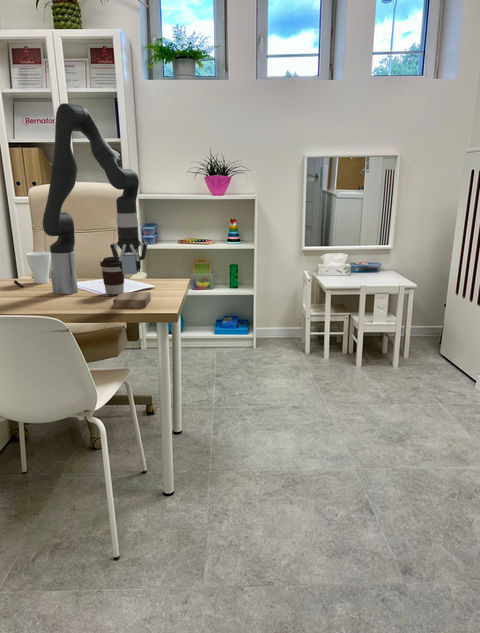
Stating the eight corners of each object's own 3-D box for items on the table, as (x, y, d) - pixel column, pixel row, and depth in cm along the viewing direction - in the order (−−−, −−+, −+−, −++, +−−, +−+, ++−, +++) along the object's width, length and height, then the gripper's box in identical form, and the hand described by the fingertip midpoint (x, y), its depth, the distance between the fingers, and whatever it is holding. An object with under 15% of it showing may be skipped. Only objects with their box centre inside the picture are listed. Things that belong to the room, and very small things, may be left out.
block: (122, 274, 180) (121, 255, 178) (125, 271, 185) (124, 253, 183) (136, 274, 180) (134, 255, 178) (138, 271, 185) (137, 253, 183)
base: (113, 307, 180) (113, 299, 180) (120, 299, 192) (120, 292, 191) (145, 307, 181) (145, 299, 180) (150, 299, 192) (150, 292, 191)
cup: (45, 279, 230) (42, 251, 226) (58, 281, 224) (55, 253, 220) (25, 282, 222) (21, 253, 218) (38, 285, 216) (34, 256, 212)
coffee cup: (105, 297, 196) (102, 260, 192) (100, 292, 204) (97, 257, 200) (129, 294, 200) (127, 258, 196) (123, 289, 209) (121, 255, 205)
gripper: (105, 226, 174) (109, 272, 179) (145, 226, 174) (147, 272, 179) (110, 224, 181) (114, 269, 186) (148, 224, 182) (151, 268, 186)
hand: (130, 270), depth 183 cm, fingers closed on block, 5 cm apart
